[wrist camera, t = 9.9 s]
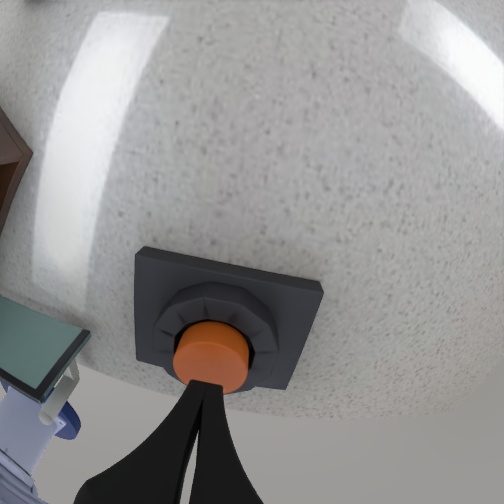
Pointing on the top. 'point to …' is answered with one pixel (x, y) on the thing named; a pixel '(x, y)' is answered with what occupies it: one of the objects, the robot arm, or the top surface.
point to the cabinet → (10, 164)
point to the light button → (212, 355)
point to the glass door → (39, 356)
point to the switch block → (222, 311)
